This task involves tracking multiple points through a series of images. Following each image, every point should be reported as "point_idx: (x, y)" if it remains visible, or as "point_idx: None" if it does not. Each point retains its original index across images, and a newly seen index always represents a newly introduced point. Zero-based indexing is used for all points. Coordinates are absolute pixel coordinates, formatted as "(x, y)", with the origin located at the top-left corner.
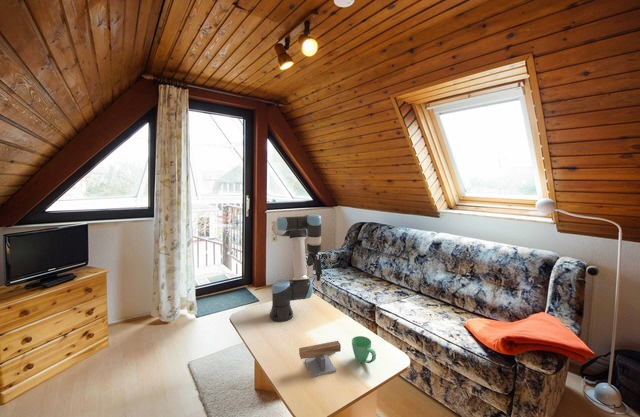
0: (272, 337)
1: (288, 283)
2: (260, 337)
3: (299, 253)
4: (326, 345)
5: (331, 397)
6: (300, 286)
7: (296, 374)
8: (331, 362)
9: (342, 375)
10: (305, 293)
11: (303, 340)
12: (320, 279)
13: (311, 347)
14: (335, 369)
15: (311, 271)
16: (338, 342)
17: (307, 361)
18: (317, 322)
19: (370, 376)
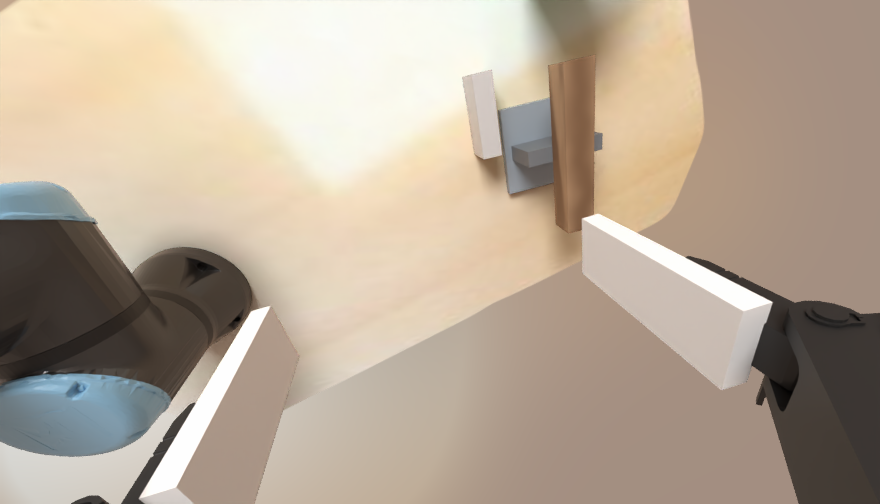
0: (365, 300)
1: (59, 390)
2: (365, 333)
3: None
4: (583, 126)
5: (668, 121)
6: (34, 295)
7: None
8: (543, 100)
9: (601, 68)
10: (77, 234)
11: (387, 197)
12: (668, 251)
13: (578, 189)
14: None
15: (254, 392)
16: (578, 62)
17: (521, 186)
18: (227, 129)
19: None
